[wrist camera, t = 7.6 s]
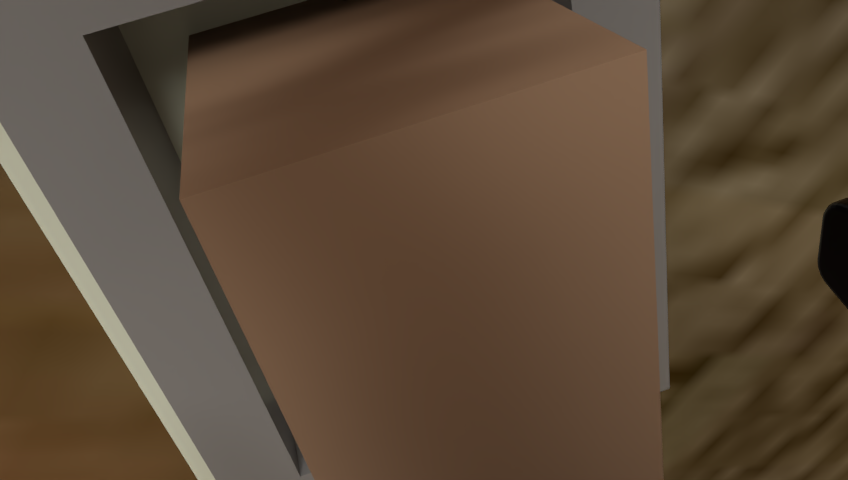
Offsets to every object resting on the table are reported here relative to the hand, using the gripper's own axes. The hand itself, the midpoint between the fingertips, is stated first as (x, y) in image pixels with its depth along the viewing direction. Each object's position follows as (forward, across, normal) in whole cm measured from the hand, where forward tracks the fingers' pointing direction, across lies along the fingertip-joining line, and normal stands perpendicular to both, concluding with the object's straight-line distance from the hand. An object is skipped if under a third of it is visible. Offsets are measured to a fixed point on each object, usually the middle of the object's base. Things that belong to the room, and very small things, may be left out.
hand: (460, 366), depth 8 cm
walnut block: (+5, 0, 0) cm, 5 cm away
